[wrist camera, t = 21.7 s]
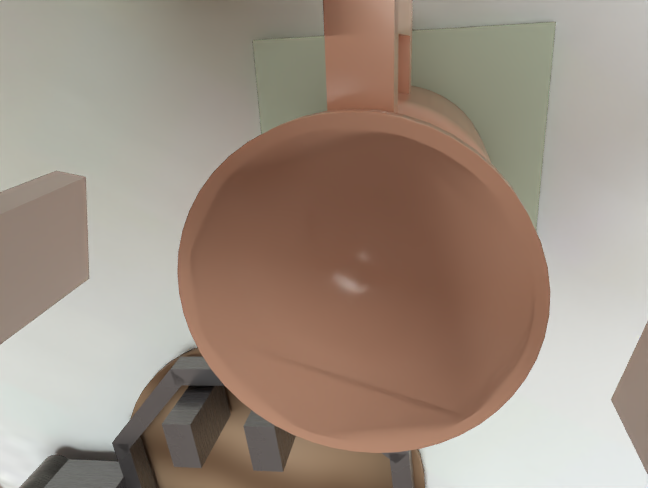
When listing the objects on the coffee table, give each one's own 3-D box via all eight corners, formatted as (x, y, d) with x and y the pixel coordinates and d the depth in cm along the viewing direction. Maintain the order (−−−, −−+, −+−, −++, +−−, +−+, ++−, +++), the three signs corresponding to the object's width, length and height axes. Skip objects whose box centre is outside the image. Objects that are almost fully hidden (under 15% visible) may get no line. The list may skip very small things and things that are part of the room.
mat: (256, 40, 23) (252, 39, 22) (552, 22, 20) (555, 21, 20) (279, 290, 27) (276, 295, 26) (526, 300, 25) (528, 306, 24)
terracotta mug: (304, 265, 26) (200, 433, 15) (289, 10, 22) (131, -21, 11) (489, 273, 24) (529, 472, 13) (510, -3, 20) (595, -56, 9)
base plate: (108, 330, 30) (102, 335, 30) (427, 349, 27) (427, 356, 26) (159, 557, 37) (155, 565, 36) (422, 598, 33) (422, 607, 32)
